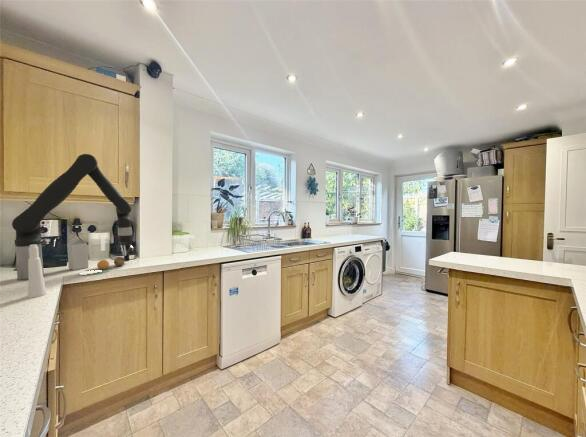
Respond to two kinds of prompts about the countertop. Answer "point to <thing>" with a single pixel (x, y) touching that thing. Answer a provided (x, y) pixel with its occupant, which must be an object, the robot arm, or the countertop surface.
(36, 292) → the cosmetic bottle
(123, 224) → the robot arm
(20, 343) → the countertop surface
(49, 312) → the countertop surface
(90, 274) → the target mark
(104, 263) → the object ball
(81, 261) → the milk carton
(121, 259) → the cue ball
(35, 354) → the countertop surface
